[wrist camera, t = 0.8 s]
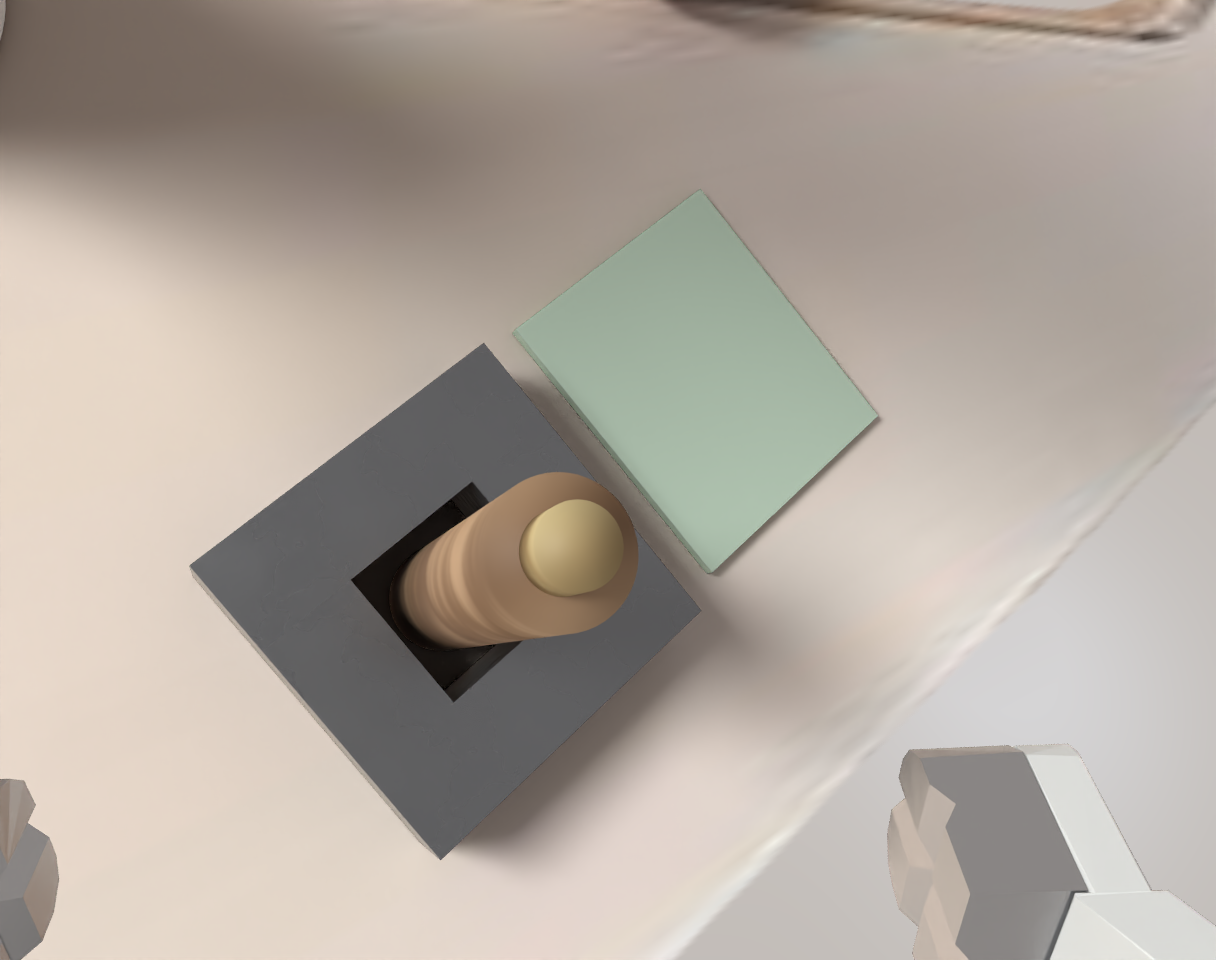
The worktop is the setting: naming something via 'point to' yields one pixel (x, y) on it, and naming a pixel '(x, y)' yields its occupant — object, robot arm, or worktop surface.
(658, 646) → the housing
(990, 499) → the worktop surface
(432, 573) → the bottle
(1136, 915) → the robot arm
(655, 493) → the mat
